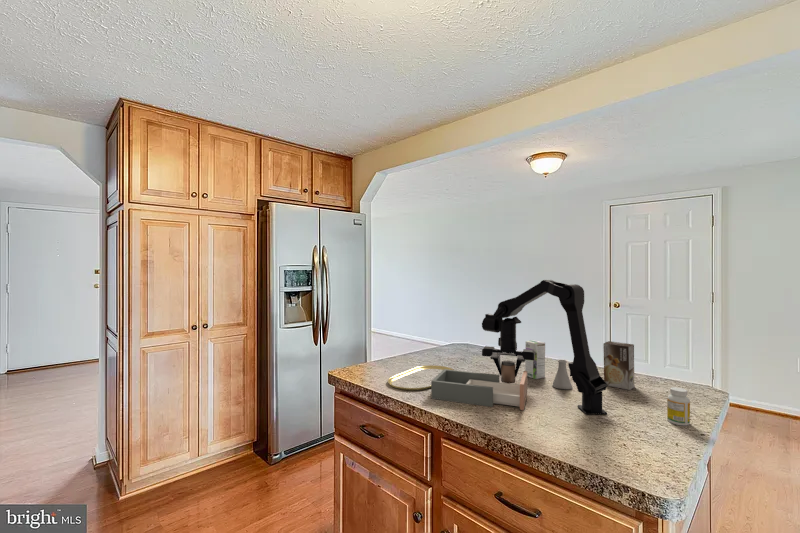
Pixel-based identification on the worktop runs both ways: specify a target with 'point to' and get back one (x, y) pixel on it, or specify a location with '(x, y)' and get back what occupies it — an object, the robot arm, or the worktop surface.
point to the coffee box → (619, 365)
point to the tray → (506, 391)
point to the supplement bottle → (678, 407)
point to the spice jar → (508, 372)
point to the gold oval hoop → (413, 372)
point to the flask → (562, 377)
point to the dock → (463, 387)
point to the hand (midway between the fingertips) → (508, 375)
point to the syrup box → (536, 360)
